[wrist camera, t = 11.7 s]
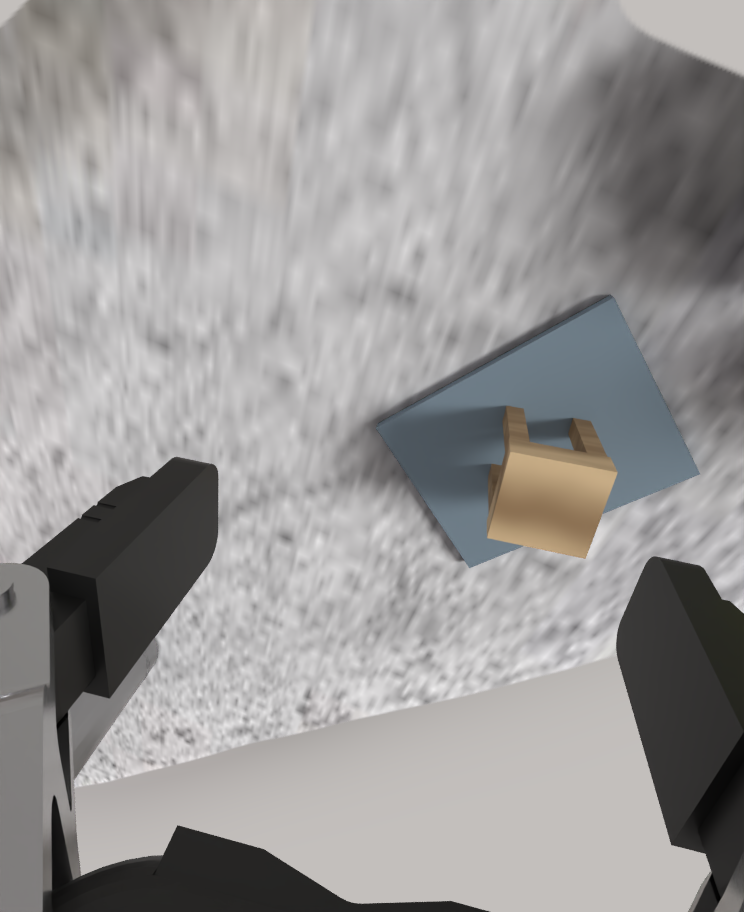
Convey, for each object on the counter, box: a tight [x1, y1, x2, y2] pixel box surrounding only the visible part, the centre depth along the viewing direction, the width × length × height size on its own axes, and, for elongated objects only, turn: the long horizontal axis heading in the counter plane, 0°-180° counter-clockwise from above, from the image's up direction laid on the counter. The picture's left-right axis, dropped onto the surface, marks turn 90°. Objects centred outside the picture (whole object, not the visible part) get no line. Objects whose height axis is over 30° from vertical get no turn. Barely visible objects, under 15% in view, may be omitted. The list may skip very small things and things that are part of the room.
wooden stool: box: [487, 406, 618, 559], centre depth 36 cm, size 6×6×8 cm
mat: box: [376, 295, 700, 568], centre depth 41 cm, size 18×14×1 cm
